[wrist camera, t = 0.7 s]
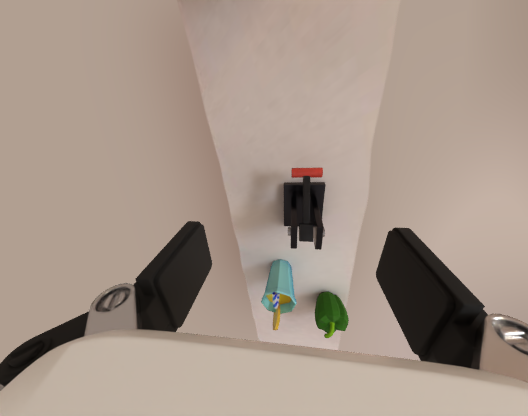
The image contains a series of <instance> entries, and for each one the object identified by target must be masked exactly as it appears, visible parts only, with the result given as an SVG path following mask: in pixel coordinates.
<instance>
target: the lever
mask: <svg viewBox="0 0 528 416" xmlns="http://www.w3.org/2000/svg"><path fill="white" fill-rule="evenodd" d="M322 175H323V169H322V168H292V178H294V177H303V223H299V241H308V242H313V224H312V223H310V177H322Z"/></svg>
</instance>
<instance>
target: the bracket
mask: <svg viewBox="0 0 528 416" xmlns="http://www.w3.org/2000/svg"><path fill="white" fill-rule="evenodd" d="M324 192H325V183H324V182H310V223H312V224H313V238H314V245H315V249H321V247H322V238H323V237H324V236H325V229H324V227H323V223H322V211H323V202H324ZM299 223H303V182H298V183H284V226H291V227H288V236H291V248H297V226H299Z"/></svg>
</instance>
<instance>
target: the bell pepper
mask: <svg viewBox="0 0 528 416" xmlns="http://www.w3.org/2000/svg"><path fill="white" fill-rule="evenodd" d="M315 320H316V325H317V327H318V328H319V329H322V330H324V331H325V332H327V334H326V333H325V335H324V336H325V338H329V337H331V336H332V335H333V333H334V332H335V331H336V330H341V331H345V330H346V328H347V325H348V315H347V312H346V309H345V307H344V305H343V303H342V301H341V300H340V298H339V297H338V296H337V295H333V294H332V293H330V292H323V293H321V294H319V296H318V298H317V302H316V308H315Z"/></svg>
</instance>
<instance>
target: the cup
mask: <svg viewBox="0 0 528 416" xmlns="http://www.w3.org/2000/svg"><path fill="white" fill-rule="evenodd" d="M261 302H262V304H263V305H264V306H265V307H266V309H267V310H269V311H272V312H274V316H273V330H278V326H279V322H280V314H281V313H286V312H291V311H292V310H293V308H294V307H295V305H296V304H297V303H296V299H295V297H294V288H293V279H292V270H291V266H290V264H289V263H288V261H284V260H281V259H280V260H276V261H273V263H272V266H271V269H270V273H269V277H268V281H267V286H266V290H265V293H264V296H263V298H262V301H261Z"/></svg>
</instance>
